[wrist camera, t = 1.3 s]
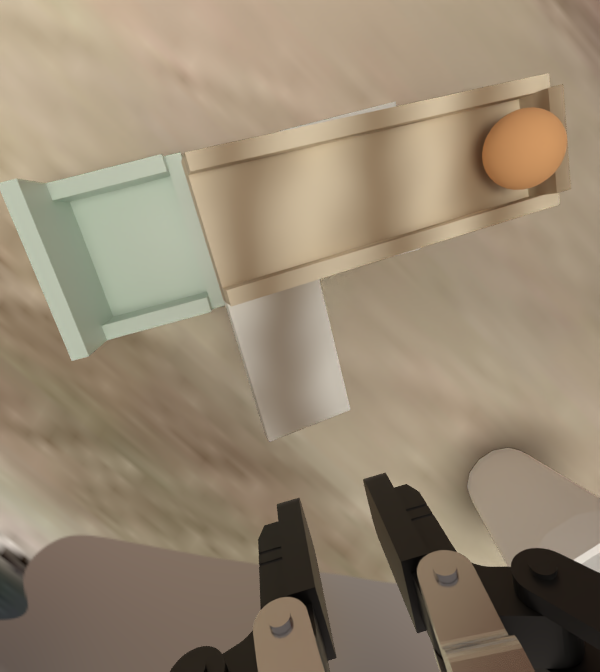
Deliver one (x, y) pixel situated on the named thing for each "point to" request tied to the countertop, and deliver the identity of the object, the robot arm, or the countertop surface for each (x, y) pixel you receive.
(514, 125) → the ball
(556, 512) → the foam cup
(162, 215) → the bin
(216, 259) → the board
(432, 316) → the countertop surface
